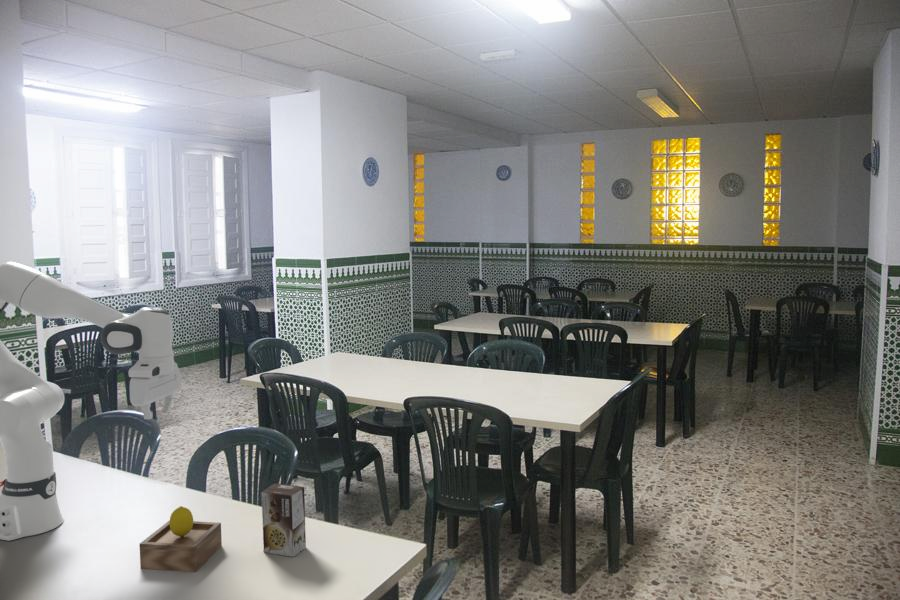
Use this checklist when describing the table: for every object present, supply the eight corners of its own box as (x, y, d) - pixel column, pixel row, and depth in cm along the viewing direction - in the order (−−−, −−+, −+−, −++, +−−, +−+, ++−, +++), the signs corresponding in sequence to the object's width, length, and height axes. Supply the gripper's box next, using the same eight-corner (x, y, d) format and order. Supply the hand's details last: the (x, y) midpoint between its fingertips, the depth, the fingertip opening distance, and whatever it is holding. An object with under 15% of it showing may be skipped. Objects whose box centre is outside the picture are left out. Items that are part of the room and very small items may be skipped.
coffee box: (306, 546, 179) (305, 486, 178) (293, 557, 173) (292, 495, 172) (276, 541, 182) (275, 482, 181) (262, 552, 176) (260, 490, 175)
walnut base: (140, 568, 168) (139, 543, 167) (170, 542, 181) (169, 520, 181) (195, 571, 166) (194, 547, 165) (221, 545, 180) (220, 522, 179)
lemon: (185, 543, 170) (184, 511, 169) (165, 541, 171) (164, 509, 170) (198, 533, 175) (197, 503, 175) (178, 531, 177) (177, 501, 176)
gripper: (166, 358, 203) (167, 404, 204) (124, 372, 183) (125, 423, 184) (186, 359, 202) (187, 405, 203) (146, 373, 182) (148, 424, 183)
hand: (157, 414), depth 194 cm, fingers open, 8 cm apart
